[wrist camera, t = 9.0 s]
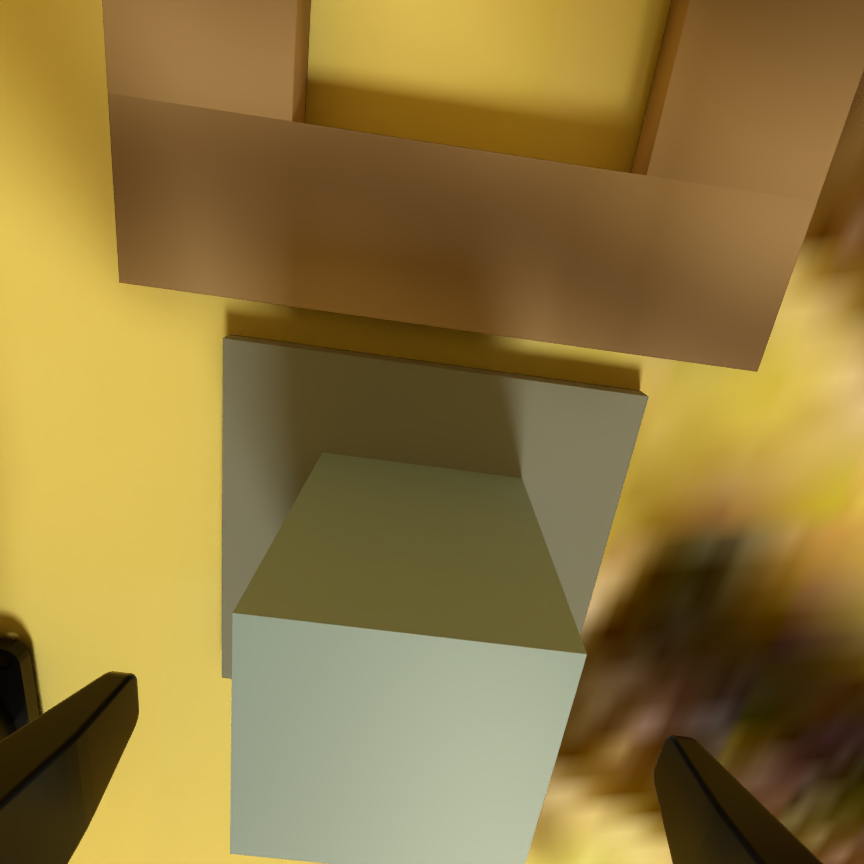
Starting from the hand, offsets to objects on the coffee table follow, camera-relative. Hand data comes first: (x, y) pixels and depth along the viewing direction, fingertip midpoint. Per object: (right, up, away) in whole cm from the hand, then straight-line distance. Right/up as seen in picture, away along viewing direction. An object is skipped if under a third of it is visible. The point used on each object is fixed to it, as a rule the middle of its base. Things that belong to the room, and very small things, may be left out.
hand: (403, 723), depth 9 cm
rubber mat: (0, +2, +6) cm, 6 cm away
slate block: (0, +2, +5) cm, 5 cm away
